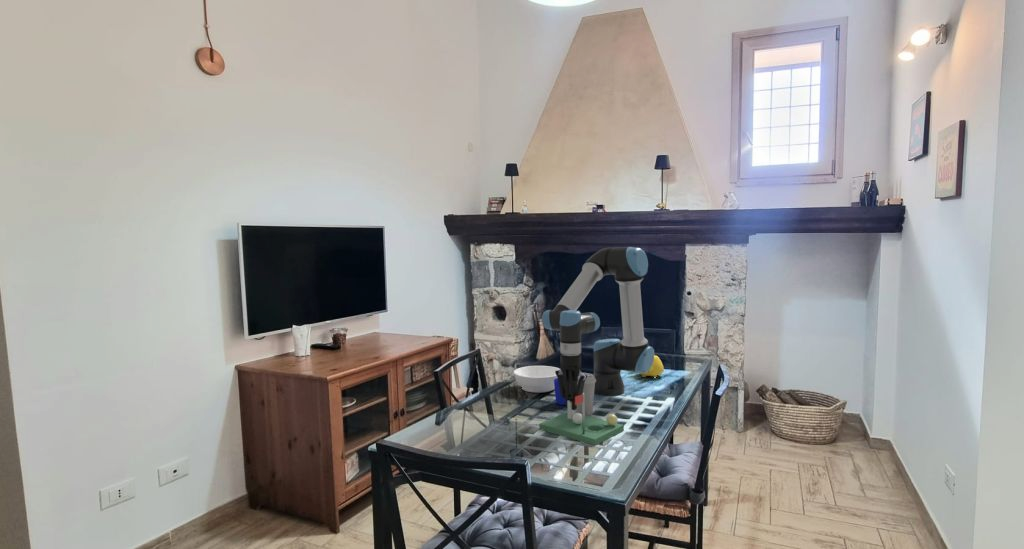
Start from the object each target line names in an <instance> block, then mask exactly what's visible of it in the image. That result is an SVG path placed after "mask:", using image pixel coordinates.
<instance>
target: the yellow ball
mask: <svg viewBox="0 0 1024 549" xmlns="http://www.w3.org/2000/svg"><path fill="white" fill-rule="evenodd" d="M605 420H606V422H607V423H608V424H609V425H610V426H614V425H616V424H617V423H618V422H619V421H618V417H617V416H616V415H615V414H612V413H610V414H607V416H606V418H605Z"/></svg>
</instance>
